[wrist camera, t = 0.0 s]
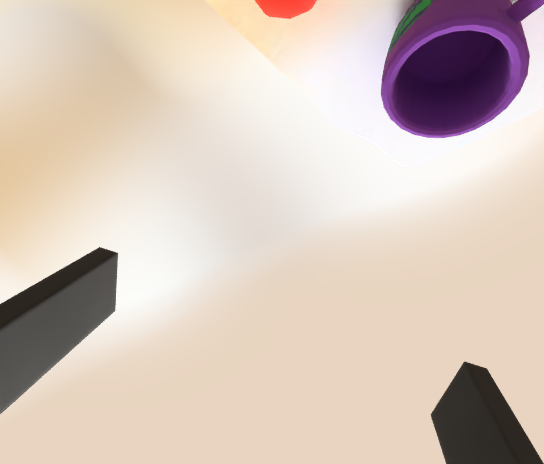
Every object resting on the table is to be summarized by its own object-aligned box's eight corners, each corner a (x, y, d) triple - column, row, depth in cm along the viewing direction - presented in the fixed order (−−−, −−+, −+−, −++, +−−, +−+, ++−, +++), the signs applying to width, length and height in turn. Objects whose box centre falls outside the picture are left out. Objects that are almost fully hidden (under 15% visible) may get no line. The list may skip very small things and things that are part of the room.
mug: (440, 102, 39) (440, 158, 34) (367, 50, 36) (355, 100, 31) (631, -60, 24) (681, -7, 19) (531, -165, 22) (559, -137, 17)
